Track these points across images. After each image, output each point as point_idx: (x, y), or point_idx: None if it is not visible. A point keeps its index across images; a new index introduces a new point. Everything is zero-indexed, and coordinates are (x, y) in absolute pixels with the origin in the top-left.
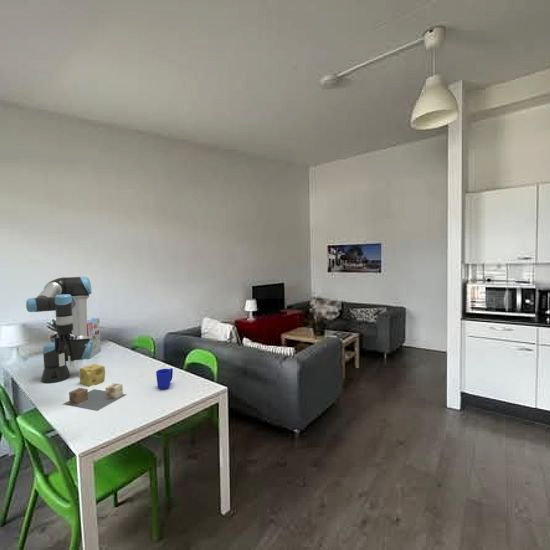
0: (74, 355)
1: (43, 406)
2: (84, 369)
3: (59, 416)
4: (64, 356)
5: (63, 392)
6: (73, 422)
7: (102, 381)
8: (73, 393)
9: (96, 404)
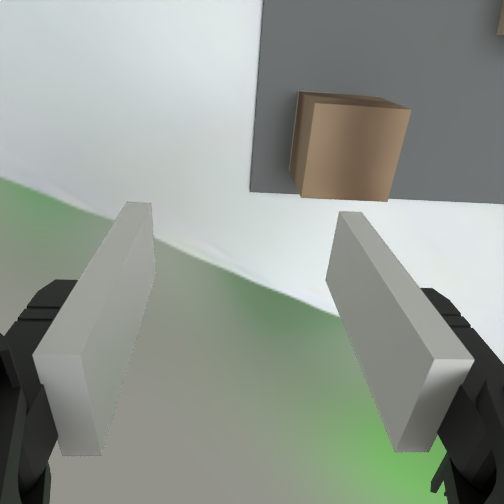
0: None
1: (158, 230)
2: None
3: None
4: (112, 292)
5: (50, 6)
6: None
7: None
8: (344, 198)
9: (474, 139)
